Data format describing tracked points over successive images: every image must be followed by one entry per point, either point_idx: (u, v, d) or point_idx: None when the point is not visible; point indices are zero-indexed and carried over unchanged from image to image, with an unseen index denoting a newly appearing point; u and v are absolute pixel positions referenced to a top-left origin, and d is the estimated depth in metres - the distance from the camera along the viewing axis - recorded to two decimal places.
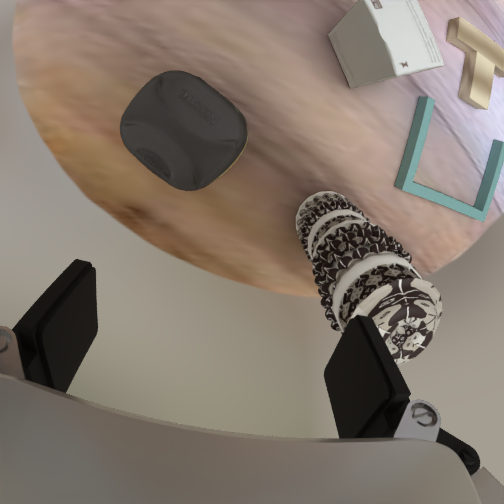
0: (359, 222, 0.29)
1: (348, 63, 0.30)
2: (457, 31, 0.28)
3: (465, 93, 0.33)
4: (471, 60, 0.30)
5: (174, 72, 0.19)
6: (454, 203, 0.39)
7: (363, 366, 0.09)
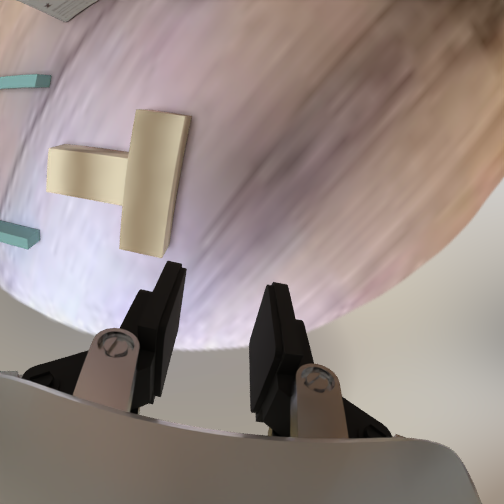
0: None
1: None
2: None
3: (61, 147, 0.23)
4: (115, 154, 0.24)
5: None
6: None
7: (267, 329, 0.10)
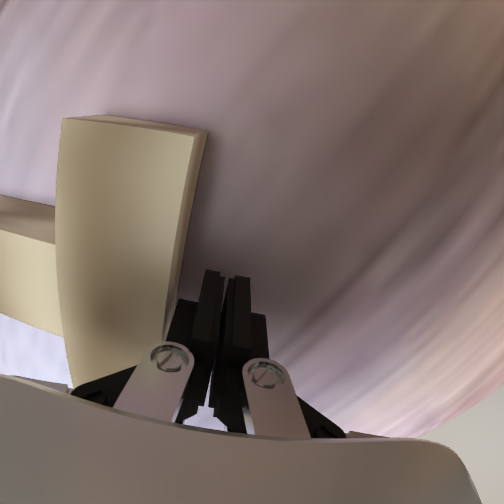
0: None
1: None
2: (101, 122, 0.07)
3: None
4: (36, 224, 0.10)
5: None
6: None
7: (223, 322, 0.09)
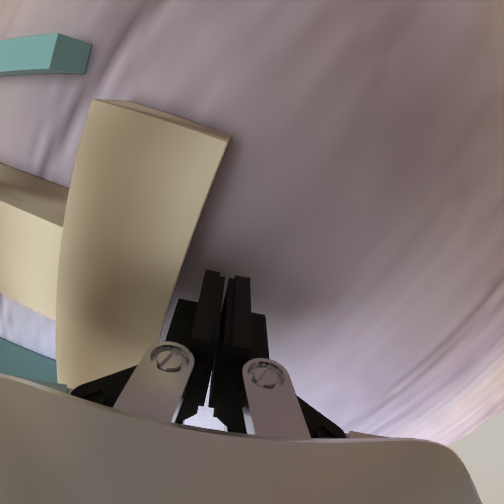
0: None
1: None
2: (132, 110, 0.07)
3: None
4: (43, 202, 0.09)
5: None
6: None
7: (223, 322, 0.09)
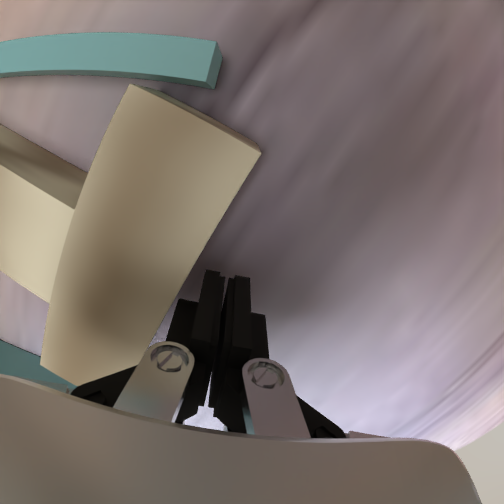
0: None
1: None
2: (169, 103, 0.07)
3: None
4: (54, 180, 0.09)
5: None
6: None
7: (223, 322, 0.09)
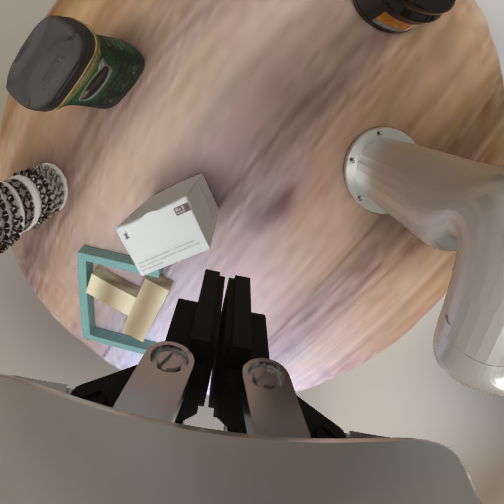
0: (21, 212, 0.30)
1: (164, 191, 0.38)
2: (152, 281, 0.45)
3: (98, 272, 0.45)
4: (129, 289, 0.46)
5: (79, 46, 0.19)
6: (84, 305, 0.47)
7: (223, 322, 0.09)
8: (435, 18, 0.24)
